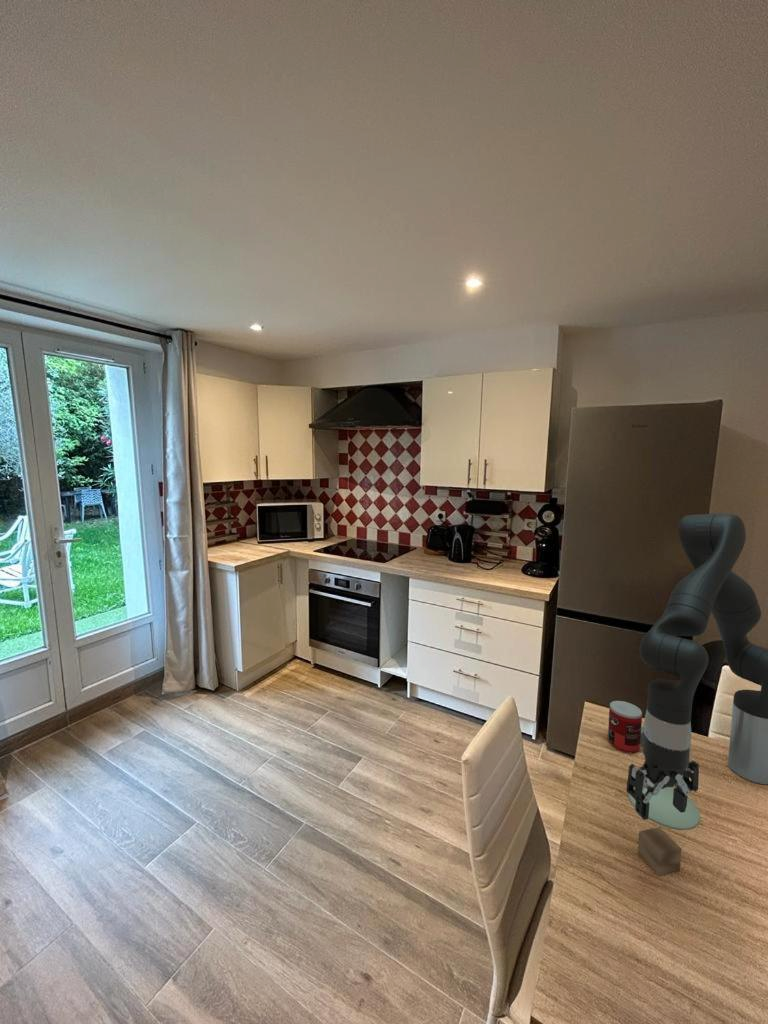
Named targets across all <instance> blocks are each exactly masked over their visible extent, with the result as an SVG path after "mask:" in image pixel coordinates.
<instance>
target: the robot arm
mask: <svg viewBox="0 0 768 1024" xmlns="http://www.w3.org/2000/svg"><path fill="white" fill-rule="evenodd" d="M677 533H678V534H677V535H678V539H679V542H680V545H681V547H682V550H683V552H684V554H685V555H686V557H687V559H688V561H689V563H690V564H691V566H692V568H693V571H692V572H691V573H688V574H687V575H686V576H685V577H684V578H682V579H681V580H680V581H679V582H678V583H677V584H676V585H675V586H674V588H673V590H672V591H671V593H670V596H669V599H668V601H667V603H666V607H665V609H664V612H663V614H662V615H661V616H660V618H659V619H658V620H657V622H655V624H653V626H652V627H650V629H649V630H648V631H647V632H646V633H645V635H644V636H643V637H642V639H641V641H640V644H639V655H640V656H639V657H640V659H641V660H642V662H643V663H644V664H645V665H647V667H649V668H653V669H655V670H657V671H662V672H665V673H667V674H671V675H674V676H677V677H679V678H680V680H673V679H663V678H657V679H654V680H652V681H650V683H649V684H648V688H647V702H646V711H645V715H644V720H643V721H644V722H643V723H644V724H643V726H644V734H643V746H642V747H641V749H642V753H643V757H644V762H643V764H642V766H636V765H635V764H634V763H631V764H630V765H629V766H628V772H627V774H628V775H627V782H626V793H627V794H628V793H629V794H630V795H631V796H632V797H633V798H634V799H635V800H636V805H635V806H636V807H635V806H634V811H635V812H636V813H637V815H638V816H640V818H641V819H642V820H649V818H648V816H649V801H650V799H651V798H652V796H653V795H657V794H658V793H659V791H660V790H661V789H664V788H666V787H674V793H673V806H674V807H675V808H676V809H677V810H678V811H680V812H681V813H682V812H685V809H686V807H687V797H688V798H689V796H690V795H691V792H692V791H693V792H697V791H698V790H699V775H700V773H699V772H700V765H699V763H698V762H697V761H695V760H694V759H693V758H692V757H690V755H691V753H690V752H691V741H692V724H691V723H692V722H691V721H692V711H693V710H692V709H693V701H694V696H695V694H696V691H697V687H698V685H699V683H700V682H701V679H702V678H703V675H704V674H705V672H706V670H707V668H708V666H709V665H708V664H709V660H710V659H709V654H708V652H707V650H706V647H705V646H703V645H702V644H701V643H700V642H698V641H695V640H692V639H687V638H685V637H697V636H701V635H703V634H704V632H705V631H706V629H707V626H708V623H709V621H710V617H711V614H712V616H713V618H714V621H715V623H716V626H717V628H718V631H719V634H720V638H721V641H722V644H723V648H724V653H725V658H726V663H727V665H728V668H729V669H730V671H731V672H732V673H733V674H734V675H735V676H737V677H739V678H741V679H743V680H746V681H749V682H751V683H753V684H756V685H758V686H760V690H756V689H739V690H736V691H735V692H734V694H733V701H732V710H731V711H732V714H731V725H730V735H729V749H728V757H727V765H728V767H729V768H730V770H731V771H733V773H735V774H736V775H738V776H740V777H741V778H743V779H745V780H748V781H750V782H753V783H756V784H761V785H768V648H767V647H766V648H765V647H763V646H761V645H760V646H759V645H756V644H753V643H752V642H750V640H749V638H748V636H747V634H748V633H749V632H751V631H752V630H753V629H754V628H755V626H757V625H758V623H759V622H760V619H761V616H762V611H761V606H760V604H759V601H758V597H757V596H756V592H755V589H753V588H752V586H751V585H750V584H749V583H748V582H747V581H746V580H745V579H743V578H742V577H741V576H739V575H738V574H737V573H735V572H734V571H733V570H732V569H734V566H735V565H736V562H737V561H738V559H739V558H740V555H741V553H742V551H743V550H744V547H745V543H746V538H747V537H746V535H747V534H746V527H745V524H744V522H743V519H742V518H741V517H740V516H739V515H737V514H734V513H706V514H705V513H703V514H701V513H699V514H689V515H685V516H683V517H682V518H681V519H680V520H679V522H678V527H677ZM648 779H649V780H650V782H651V783H653V784H654V786H653V787H651V786H650V785H649V784H648V783H647V780H648ZM645 787H646V788H647V792H646V793H645V794H644V793H643V792H642V791H643V790H644V788H645ZM634 788H635V789H634Z"/></svg>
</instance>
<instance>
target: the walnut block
mask: <svg viewBox="0 0 768 1024" xmlns="http://www.w3.org/2000/svg"><path fill="white" fill-rule="evenodd" d="M637 854H638V855H639V857H641V859H642V860H643V861H644V862H645V864H647V866H648V867H649V868H650V869H651V870H652V871H653V872H654V874H655V875H656V876H657V877H661V876H666V875H669V874H674V873H679V872H680V871H681V862H682V859H681V858H682V848H681V847H680V845H679V844H678V843H677V842H676V841H674V839H673V838H672V837H671V836H669V834H668V833H666V831H665V830H663V828H661V827H660V826H659V827H654V828H649V829H645V830H644V829H643V830H639V831H638V841H637Z"/></svg>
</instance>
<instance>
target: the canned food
mask: <svg viewBox="0 0 768 1024" xmlns="http://www.w3.org/2000/svg"><path fill="white" fill-rule="evenodd" d="M642 721H643V711H642V710H641V709H640V708H639V707H638V706H637V705H634V704H632V703H630V702H628V701H624V700H613V701H611V702H610V703H609V710H608V729H607V731H608V732H607V738H608V742H609V744H610V743H611V744H610V746H612V747H613V748H615V749H616V750H618V751H620V752H623V753H626V752H627V754H634V753H638V752H639V751H640V747H641V745H640V739H641V727H642V725H643V724H642V723H643V722H642Z"/></svg>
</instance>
